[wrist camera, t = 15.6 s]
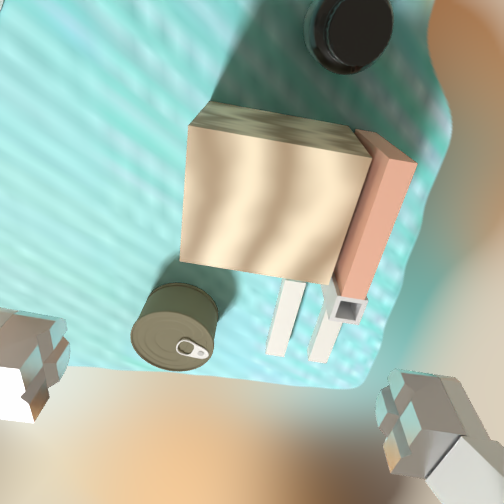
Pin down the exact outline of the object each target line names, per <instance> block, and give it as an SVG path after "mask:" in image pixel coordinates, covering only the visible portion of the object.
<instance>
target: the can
mask: <svg viewBox="0 0 504 504" xmlns="http://www.w3.org/2000/svg"><path fill="white" fill-rule="evenodd" d="M217 321H218V309H217V306H216V304H215V302H214V300H213V299H212V298H211V297H210V296H209V295H208V294H207V293H206V292H205V291H203V290H202V289H200V288H198V287H196V286H193V285H190V284H185V283H169V284H165V285H162V286H160V287H158V288H156V289H155V290H154V291H152V293H151V294H150V295H149V297H148V299H147V301H146V303H145V305H144V307H143V309H142V311H141V314H140V316H139V318H138V320H137V321H136V322H135V324H134V325H133V327H132V330H131V343H132V346H133V348H134V349H135V351H136V352H137V354H138V355H139V356H140V357H141V358H142V359H144V360H145V361H146V362H148V363H150V364H151V365H153V366H156V367H158V368H161V369H165V370H169V371H188V370H193V369H196V368H198V367H200V366H202V365H203V364H205V363H206V362H207V361H208V360H209V359H210V357H211V355H212V353H213V349H214V337H215V331H216V326H217Z"/></svg>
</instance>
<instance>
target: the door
mask: <svg viewBox="0 0 504 504" xmlns="http://www.w3.org/2000/svg"><path fill="white" fill-rule="evenodd" d="M354 134H355V136H356V137H357V138H358V140H359V141H360V142H361V144H362V145H363V146H364V148H365V149H366V150H367V152H368V153H369V154H370V156H371V157H372V160H371V163H370V166H369V169H368V172H367V175H366V178H365V181H364V184H363V187H362V189H361V192H360V195H359V198H358V201H357V204H356V207H355V210H354V213H353V216H352V218H351V221H350V224H349V227H348V230H347V233H346V236H345V239H344V242H343V245H342V247H341V250H340V253H339V256H338V259H337V262H336V265H335V268H334V271H333V274H332V276H331V279H330V282H329V285H323V284H321V288H322V292H323V297H324V301H325V306H326V310H327V314H328V319H329V321H336V322H342V323H349V324H355V325H359V323H360V321H361V318H362V316H363V313H364V311H365V308H366V306H367V303H368V299H367V296H366V295H367V292H368V290H369V287H370V285H371V282H372V280H373V277H374V275H375V272H376V269H377V267H378V264H379V262H380V259H381V257H382V254H383V252H384V249H385V246H386V244H387V241H388V239H389V236H390V234H391V231H392V228H393V226H394V223H395V221H396V218H397V216H398V213H399V211H400V208H401V205H402V203H403V200H404V198H405V195H406V193H407V190H408V187H409V185H410V182H411V180H412V177H413V175H414V172H415V170H416V167H417V164H418V163H416V162H415V161H414V160H412V159H411V158H410V157H408V156H407V155H406V154H404V153H403V152H402V151H400V150H399V149H398V148H396V147H395V146H394V145H392V144H391V143H390V142H388V141H387V140H386V139H384V138H383V137H382V136H380V135H379V134H378V133H376V132H370V131H365V130H359V129H355V133H354Z"/></svg>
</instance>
